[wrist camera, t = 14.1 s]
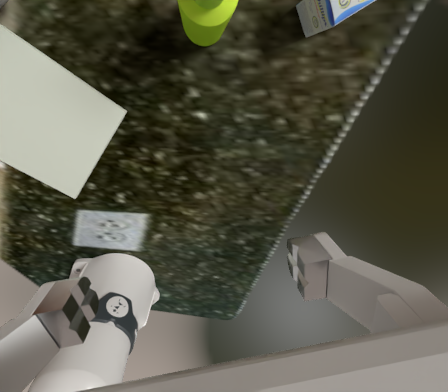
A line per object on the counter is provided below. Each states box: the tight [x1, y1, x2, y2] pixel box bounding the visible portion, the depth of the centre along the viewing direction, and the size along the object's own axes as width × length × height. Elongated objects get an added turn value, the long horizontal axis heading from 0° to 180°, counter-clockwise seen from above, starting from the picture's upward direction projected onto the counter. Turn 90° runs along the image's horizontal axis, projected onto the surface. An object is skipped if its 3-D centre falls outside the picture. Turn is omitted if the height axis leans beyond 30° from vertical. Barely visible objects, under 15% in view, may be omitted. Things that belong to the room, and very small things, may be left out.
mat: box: [0, 24, 127, 199], centre depth 36 cm, size 18×18×1 cm
